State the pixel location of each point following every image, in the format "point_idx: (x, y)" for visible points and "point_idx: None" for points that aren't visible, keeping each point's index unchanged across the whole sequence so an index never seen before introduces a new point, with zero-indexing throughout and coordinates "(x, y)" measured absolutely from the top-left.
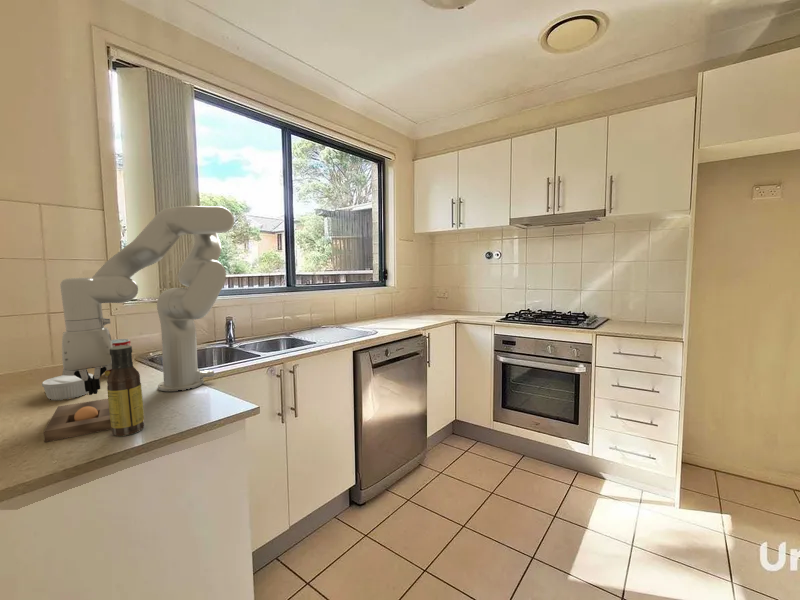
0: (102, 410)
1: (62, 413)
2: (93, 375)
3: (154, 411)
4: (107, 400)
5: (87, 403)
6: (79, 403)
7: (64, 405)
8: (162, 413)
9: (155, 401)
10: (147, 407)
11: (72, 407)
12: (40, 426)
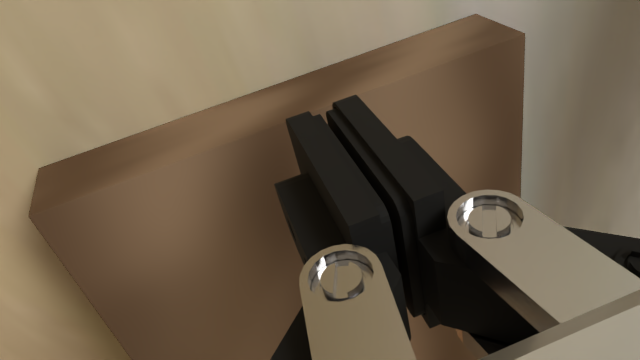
0: (416, 320)
1: (195, 356)
2: (446, 280)
3: (594, 199)
4: (405, 134)
5: (274, 181)
6: (200, 167)
7: (82, 201)
8: (615, 231)
9: (631, 13)
10: (576, 128)
11: (196, 256)
12: (64, 339)
